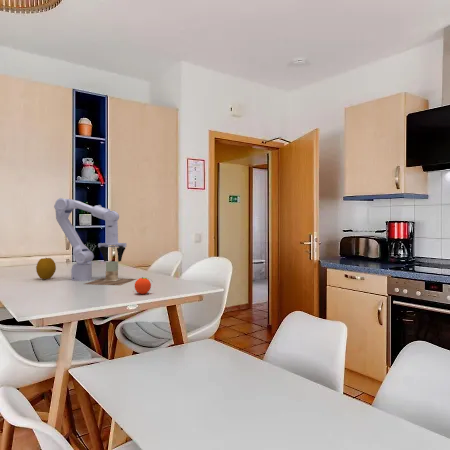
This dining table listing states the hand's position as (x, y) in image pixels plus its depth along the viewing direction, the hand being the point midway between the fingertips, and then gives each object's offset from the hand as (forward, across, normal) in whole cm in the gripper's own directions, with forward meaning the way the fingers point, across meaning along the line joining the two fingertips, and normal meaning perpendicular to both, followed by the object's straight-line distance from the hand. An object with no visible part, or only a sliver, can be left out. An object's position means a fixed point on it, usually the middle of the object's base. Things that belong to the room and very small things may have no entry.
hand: (112, 261), depth 207 cm
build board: (+10, +2, -5) cm, 12 cm away
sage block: (+5, 0, 0) cm, 5 cm away
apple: (+10, -39, +1) cm, 40 cm away
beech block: (+9, 0, 0) cm, 9 cm away
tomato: (+11, +28, -28) cm, 41 cm away
